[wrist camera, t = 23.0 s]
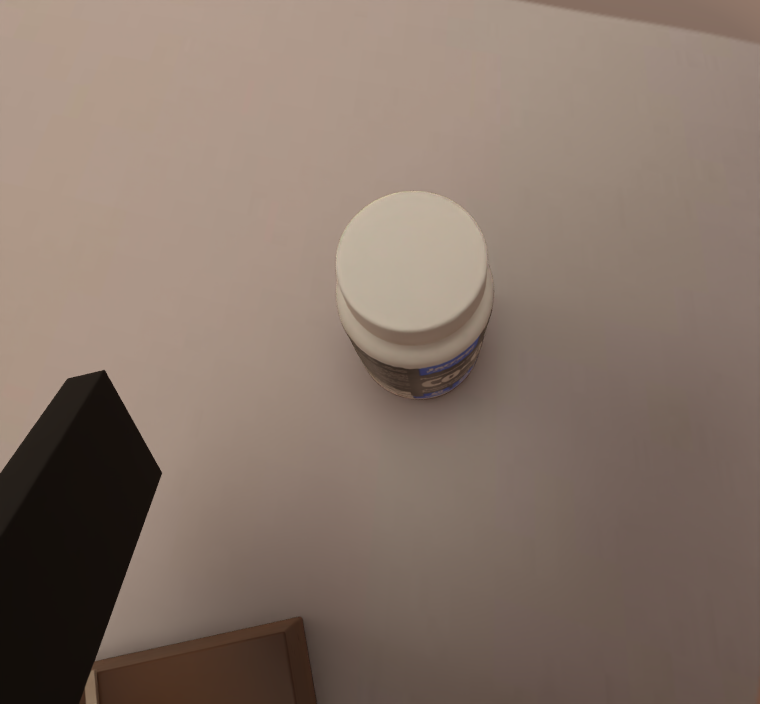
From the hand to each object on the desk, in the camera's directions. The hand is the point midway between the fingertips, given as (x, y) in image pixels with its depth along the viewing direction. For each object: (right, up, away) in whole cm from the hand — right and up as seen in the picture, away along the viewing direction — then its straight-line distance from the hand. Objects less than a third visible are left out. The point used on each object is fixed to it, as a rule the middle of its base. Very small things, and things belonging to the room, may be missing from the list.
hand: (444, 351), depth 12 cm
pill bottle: (0, 0, +12) cm, 12 cm away
